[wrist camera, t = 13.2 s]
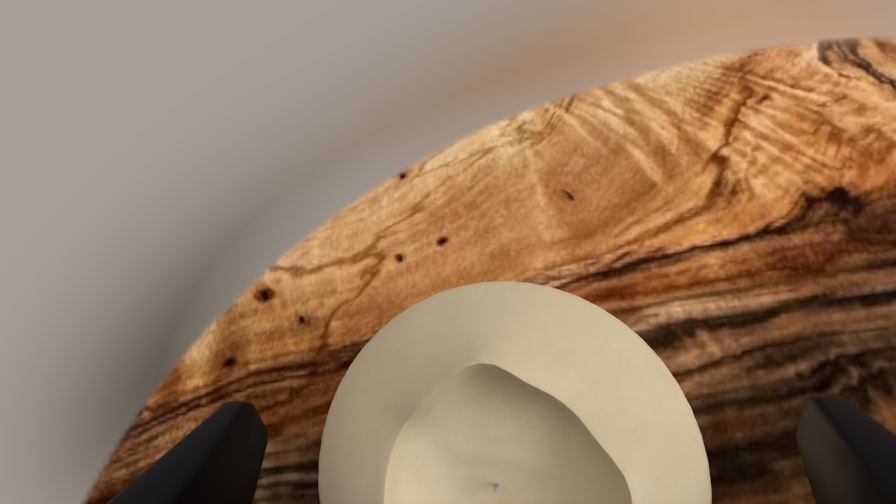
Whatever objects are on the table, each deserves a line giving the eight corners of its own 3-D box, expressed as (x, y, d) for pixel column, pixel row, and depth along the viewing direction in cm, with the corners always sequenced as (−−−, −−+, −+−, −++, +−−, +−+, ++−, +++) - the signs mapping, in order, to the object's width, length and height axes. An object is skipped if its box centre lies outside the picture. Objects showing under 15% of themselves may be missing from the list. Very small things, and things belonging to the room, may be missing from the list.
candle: (439, 318, 17) (289, 261, 7) (621, 324, 16) (738, 266, 6) (430, 505, 16) (241, 738, 6) (625, 525, 15) (774, 841, 5)
